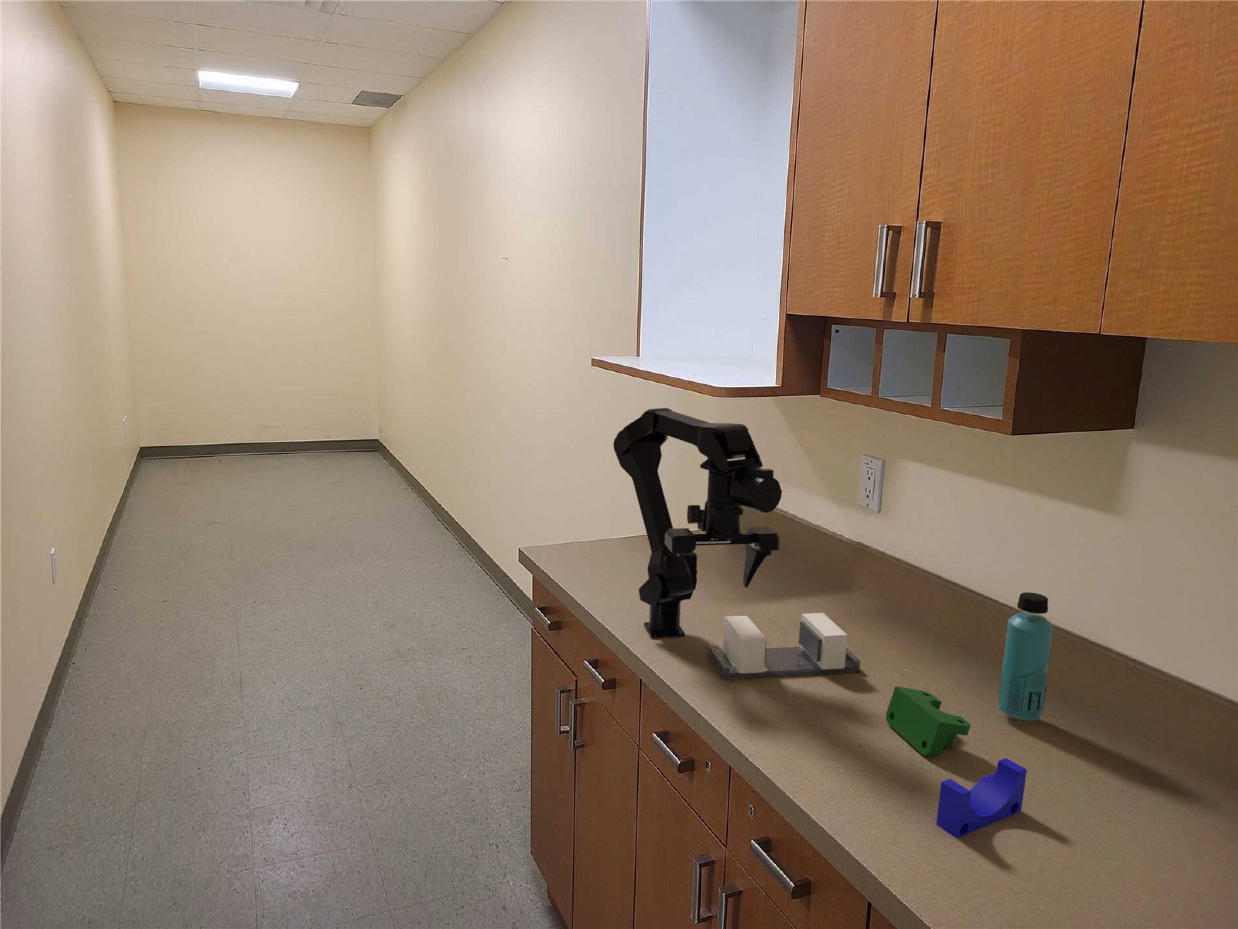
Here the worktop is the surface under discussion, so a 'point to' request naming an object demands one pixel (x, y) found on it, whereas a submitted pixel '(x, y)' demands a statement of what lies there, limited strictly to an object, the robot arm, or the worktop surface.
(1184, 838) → the worktop surface
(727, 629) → the white rectangular prism
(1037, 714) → the beverage bottle
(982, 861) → the worktop surface
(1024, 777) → the blue bracket
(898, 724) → the clamp
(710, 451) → the robot arm
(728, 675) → the rail
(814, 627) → the block
